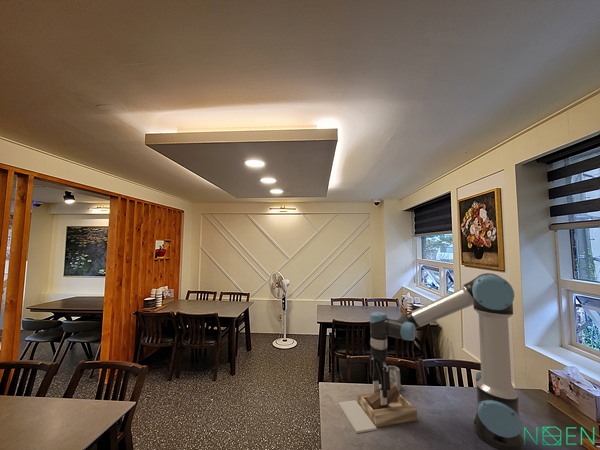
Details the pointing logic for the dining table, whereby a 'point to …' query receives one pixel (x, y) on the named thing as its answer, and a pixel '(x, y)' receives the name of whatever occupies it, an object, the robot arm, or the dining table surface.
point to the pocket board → (388, 411)
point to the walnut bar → (376, 397)
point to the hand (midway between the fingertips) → (379, 399)
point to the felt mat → (357, 416)
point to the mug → (395, 377)
